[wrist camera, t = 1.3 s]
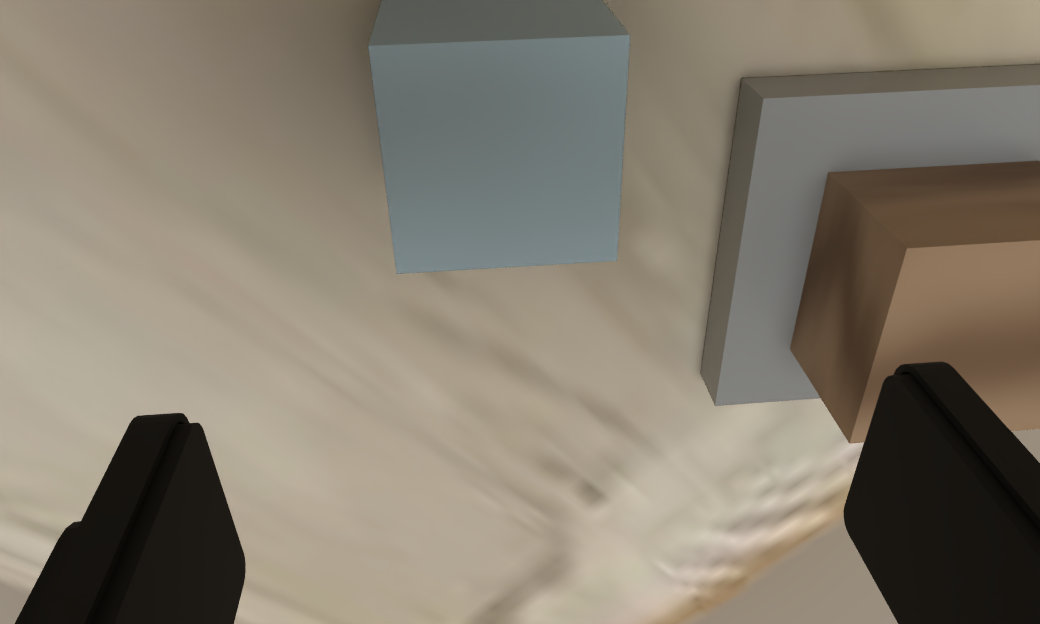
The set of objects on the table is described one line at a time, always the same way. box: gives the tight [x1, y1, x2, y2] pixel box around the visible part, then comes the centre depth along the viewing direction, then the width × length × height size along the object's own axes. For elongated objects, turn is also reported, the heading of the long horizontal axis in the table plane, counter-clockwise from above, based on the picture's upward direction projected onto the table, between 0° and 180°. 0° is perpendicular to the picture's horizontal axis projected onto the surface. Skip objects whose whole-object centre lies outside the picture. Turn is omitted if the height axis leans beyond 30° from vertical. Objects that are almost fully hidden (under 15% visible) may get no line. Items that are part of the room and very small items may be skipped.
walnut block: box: [790, 161, 1040, 443], centre depth 25 cm, size 7×7×5 cm
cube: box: [368, 0, 630, 274], centre depth 22 cm, size 6×6×6 cm
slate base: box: [701, 64, 1040, 406], centre depth 28 cm, size 12×12×2 cm
